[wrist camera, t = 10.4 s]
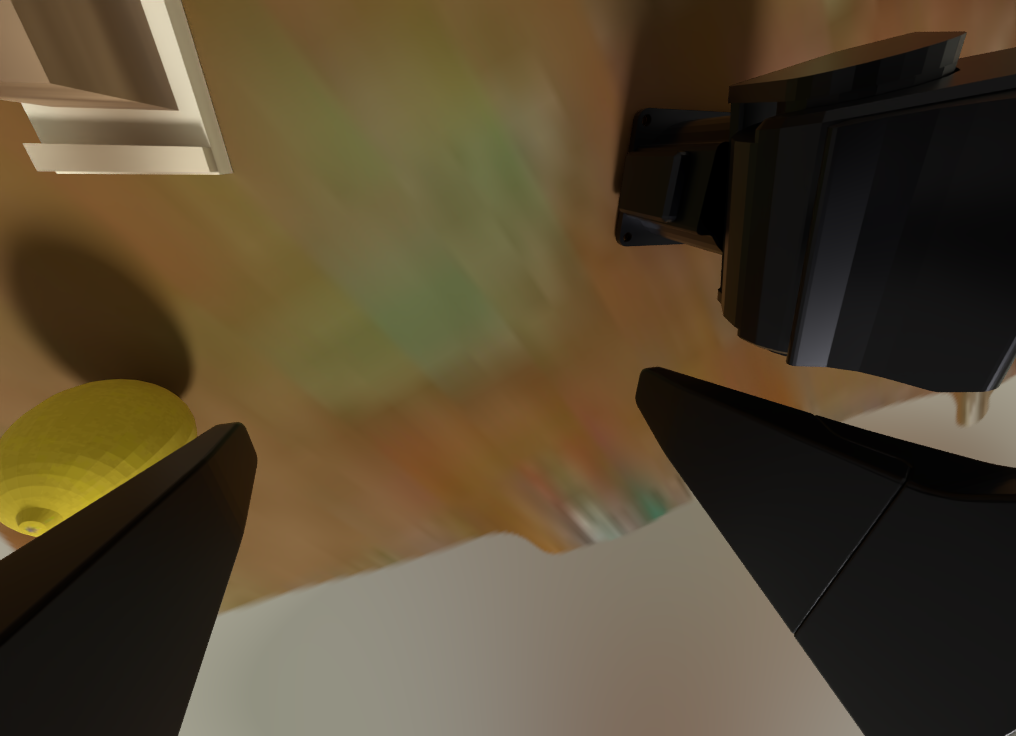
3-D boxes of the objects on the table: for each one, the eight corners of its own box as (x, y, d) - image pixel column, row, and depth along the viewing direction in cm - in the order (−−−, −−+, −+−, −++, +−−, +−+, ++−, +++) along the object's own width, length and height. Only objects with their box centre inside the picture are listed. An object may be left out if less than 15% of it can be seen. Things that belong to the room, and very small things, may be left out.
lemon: (52, 373, 17) (-161, 510, 11) (174, 334, 18) (45, 441, 11) (141, 455, 20) (19, 603, 14) (244, 420, 21) (175, 545, 14)
